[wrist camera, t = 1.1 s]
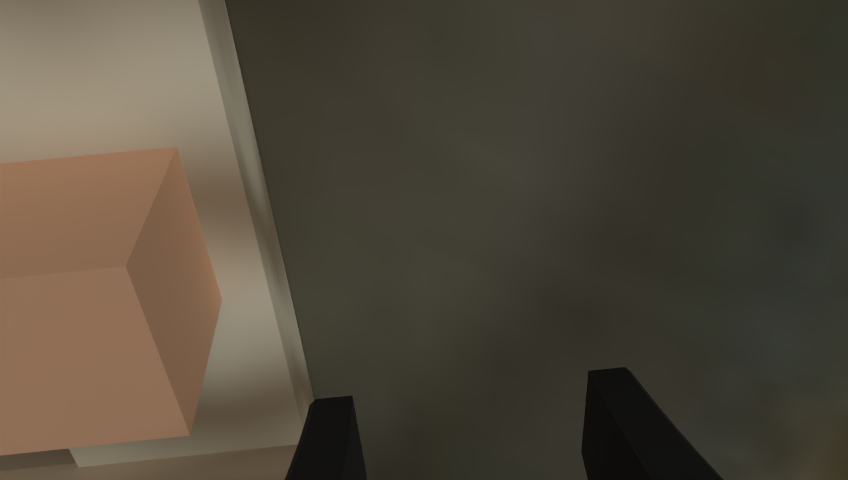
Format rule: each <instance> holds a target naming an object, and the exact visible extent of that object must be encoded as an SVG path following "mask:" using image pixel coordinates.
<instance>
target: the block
mask: <svg viewBox="0 0 848 480" xmlns="http://www.w3.org/2000/svg"><path fill="white" fill-rule="evenodd" d="M221 303H222V297H221V293H220V290H219V287H218V283H217V280H216V277H215V273H214V270H213V266H212V263H211V260H210V256H209V253H208V249H207V246H206V243H205V239H204V236H203V233H202V229H201V226H200V222H199V219H198V216H197V212H196V209H195V205H194V202H193V199H192V195H191V192H190V189H189V185H188V182H187V178H186V175H185V172H184V168H183V165H182V162H181V158H180V155H179V151H178V148H177V147H169V148H159V149H148V150H138V151H127V152H117V153H106V154H96V155H86V156H75V157H65V158H54V159H44V160H33V161H23V162H12V163H2V164H0V456H1V455H11V454H20V453H30V452H39V451H49V450H58V449H68V448H77V447H87V446H96V445H106V444H115V443H125V442H134V441H144V440H153V439H163V438H172V437H182V436H190V435H191V431H192V426H193V422H194V418H195V414H196V409H197V405H198V401H199V397H200V392H201V388H202V384H203V380H204V375H205V371H206V367H207V363H208V358H209V354H210V350H211V346H212V341H213V337H214V333H215V329H216V324H217V320H218V316H219V312H220V307H221Z"/></svg>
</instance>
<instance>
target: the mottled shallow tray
mask: <svg viewBox="0 0 848 480" xmlns="http://www.w3.org/2000/svg"><path fill="white" fill-rule="evenodd" d="M169 147H177V148H178V151H179V155H180V158H181V162H182V165H183V168H184V172H185V175H186V178H187V182H188V185H189V189H190V192H191V195H192V199H193V202H194V205H195V209H196V212H197V216H198V219H199V222H200V226H201V229H202V233H203V236H204V239H205V243H206V246H207V249H208V253H209V256H210V260H211V263H212V266H213V270H214V273H215V277H216V280H217V283H218V287H219V290H220V293H221V297H222V303H221V307H220V312H219V316H218V320H217V324H216V329H215V333H214V337H213V341H212V346H211V350H210V354H209V358H208V363H207V367H206V371H205V375H204V380H203V384H202V388H201V392H200V397H199V401H198V405H197V409H196V414H195V418H194V422H193V426H192V431H191V435H190V436H182V437H172V438H163V439H153V440H144V441H134V442H125V443H115V444H106V445H96V446H87V447H77V448H68V449H58V450H49V451H39V452H30V453H20V454H11V455H1V456H0V480H285V477H286V475H287V472H288V470H289V467H290V464H291V462H292V459H293V456H294V454H295V451H296V448H297V445H298V442H299V439H300V436H301V433H302V430H303V427H304V424H305V420H306V417H307V413H308V409H309V405H310V404H311V403H312V402H313V401H314V397H313V392H312V388H311V383H310V379H309V374H308V370H307V365H306V361H305V357H304V352H303V348H302V343H301V339H300V334H299V330H298V325H297V321H296V316H295V312H294V307H293V303H292V299H291V294H290V290H289V285H288V281H287V276H286V272H285V267H284V263H283V258H282V254H281V250H280V245H279V241H278V236H277V232H276V227H275V223H274V218H273V214H272V209H271V205H270V200H269V196H268V192H267V187H266V183H265V178H264V174H263V169H262V165H261V160H260V156H259V151H258V147H257V142H256V138H255V134H254V129H253V125H252V120H251V116H250V111H249V107H248V102H247V98H246V93H245V89H244V84H243V80H242V76H241V71H240V67H239V62H238V58H237V53H236V49H235V44H234V40H233V35H232V31H231V26H230V22H229V18H228V13H227V9H226V4H225V0H0V164H2V163H12V162H23V161H33V160H44V159H54V158H65V157H75V156H86V155H96V154H106V153H117V152H127V151H138V150H148V149H159V148H169Z"/></svg>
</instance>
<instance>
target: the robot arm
mask: <svg viewBox="0 0 848 480" xmlns="http://www.w3.org/2000/svg"><path fill="white" fill-rule="evenodd" d="M581 452H582V456H583V460H584V465H585V469H586V473H587V477H588V480H723V479H722V478H721V477H720V476H719V474H718V473H717V472H716V471H715V470H714V469H713V468H712V467H711V466H710V465H709V464H708V463H707V461H706V460H705V459H704V458H703V457H702V456H701V455H700V454H699V453H698V452H697V451H696V450H695V448H694V447H693V446H692V445H691V444H690V443H689V442H688V441H687V439H686V438H685V437H684V436H683V435H682V434H681V433H680V431H679V430H678V429H677V428H676V427H675V426H674V424H673V423H672V422H671V421H670V420H669V419H668V417H667V416H666V415H665V414H664V413H663V411H662V410H661V409H660V408H659V407H658V405H657V404H656V403H655V402H654V400H653V399H652V398H651V397H650V395H649V394H648V393H647V392H646V390H645V389H644V388H643V387H642V385H641V384H640V383H639V382H638V380H637V379H636V378H635V376H634V375H633V374H632V373H631V371H629V370H628V369H627V368H625V367H622V368H612V369H603V370H593V371H588V383H587V394H586V406H585V417H584V428H583V440H582V451H581ZM285 480H367V477H366V470H365V464H364V459H363V453H362V447H361V442H360V436H359V431H358V425H357V420H356V414H355V408H354V403H353V397H352V396H344V397H334V398H325V399H315V400H314V401H313V402H312V403H311V404H310V405H309V409H308V413H307V417H306V420H305V424H304V427H303V430H302V433H301V436H300V439H299V442H298V445H297V448H296V451H295V454H294V456H293V459H292V462H291V464H290V467H289V470H288V472H287V475H286V477H285Z"/></svg>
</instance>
